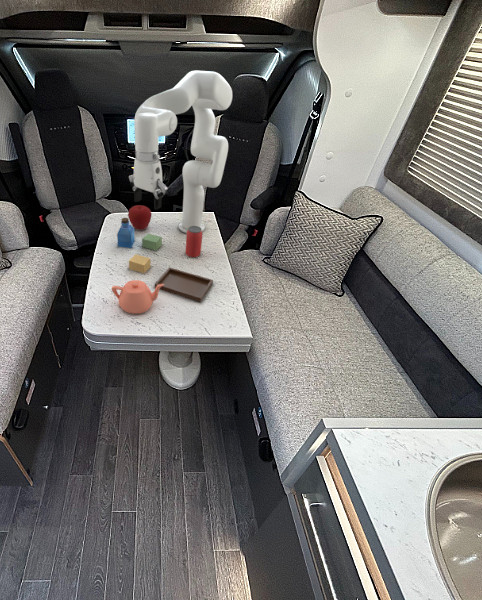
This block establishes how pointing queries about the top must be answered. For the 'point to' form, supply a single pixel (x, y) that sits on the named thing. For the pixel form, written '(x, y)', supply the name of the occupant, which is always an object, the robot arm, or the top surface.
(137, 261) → the yellow rectangular block
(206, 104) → the robot arm
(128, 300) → the teapot
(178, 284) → the brown tray
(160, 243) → the green block
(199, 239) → the beer can
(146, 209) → the apple
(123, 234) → the perfume bottle
